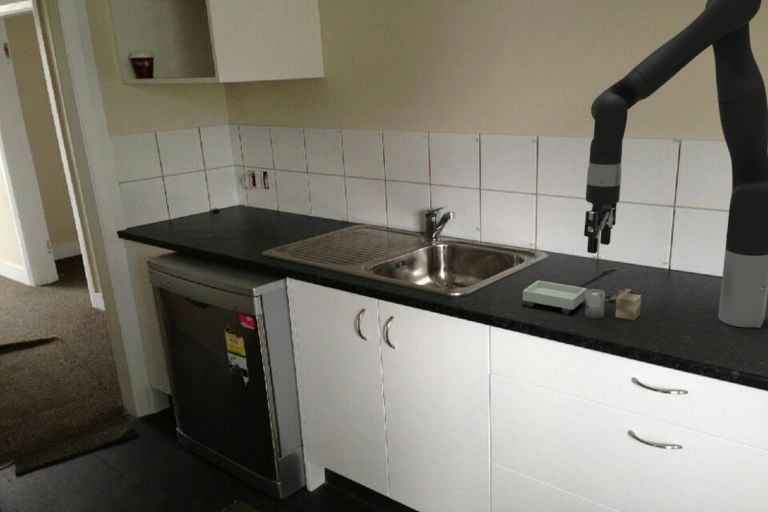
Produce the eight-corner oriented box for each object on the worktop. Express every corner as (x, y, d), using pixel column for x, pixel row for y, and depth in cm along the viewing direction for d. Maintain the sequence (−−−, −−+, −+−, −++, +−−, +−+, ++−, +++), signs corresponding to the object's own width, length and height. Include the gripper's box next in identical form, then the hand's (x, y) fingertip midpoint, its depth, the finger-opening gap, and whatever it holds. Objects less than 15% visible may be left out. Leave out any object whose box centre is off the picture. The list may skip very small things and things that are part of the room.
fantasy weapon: (560, 297, 174) (613, 308, 164) (560, 291, 174) (613, 301, 163) (612, 270, 193) (662, 278, 183) (612, 264, 193) (662, 272, 182)
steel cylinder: (606, 313, 160) (607, 290, 158) (600, 319, 156) (601, 296, 154) (588, 310, 162) (589, 287, 160) (582, 316, 159) (583, 293, 157)
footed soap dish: (586, 303, 166) (587, 288, 165) (572, 315, 159) (573, 299, 158) (537, 294, 174) (538, 280, 173) (522, 306, 167) (522, 290, 166)
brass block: (639, 314, 158) (641, 295, 157) (634, 320, 155) (635, 301, 153) (621, 311, 161) (622, 292, 159) (615, 317, 157) (616, 297, 156)
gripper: (609, 188, 142) (603, 258, 147) (629, 178, 153) (624, 243, 158) (576, 185, 147) (572, 253, 152) (598, 175, 158) (594, 239, 162)
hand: (598, 248), depth 155 cm, fingers open, 8 cm apart
